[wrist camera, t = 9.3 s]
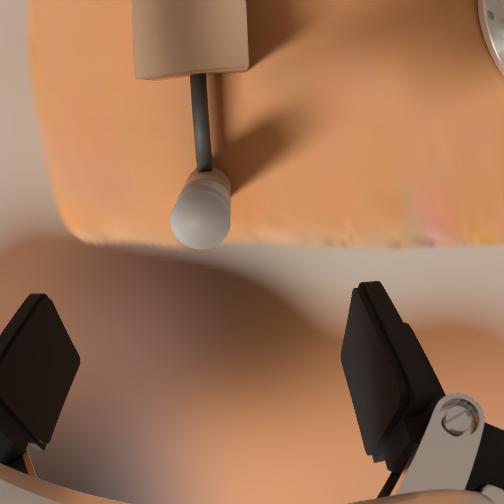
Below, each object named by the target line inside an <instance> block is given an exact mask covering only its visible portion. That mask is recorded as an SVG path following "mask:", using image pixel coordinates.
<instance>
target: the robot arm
mask: <svg viewBox="0 0 504 504" xmlns="http://www.w3.org/2000/svg"><path fill="white" fill-rule="evenodd" d="M478 14H479V20H480V25H481V29H482V33H483V36H484V39H485V42H486V44H487V47H488V49H489V52H490V54H491V56H492V58H493V60H494V62H495V64H496V66H497V67H498V69H499V70H500V72H501V73H502V75H503V76H504V0H478ZM341 362H342V366H343V370H344V373H345V376H346V380H347V384H348V387H349V391H350V395H351V398H352V402H353V406H354V409H355V413H356V417H357V421H358V424H359V428H360V432H361V436H362V440H363V444H364V448H365V451H366V453H367V455H372V457H373V460H374V463H376V462H381V461H385V462H386V465H387V469H388V470H389V473H388V475H387V477H386V478H385V480H384V482H383V484H382V485H381V487H380V489H379V491H378V492H377V494H376V496H375V497H374V499H371V500H366V501H359V502H354V503H349V504H504V430H501V429H499V428H497V427H494V426H492V425H490V424H487V423H485V422H484V420H485V417H484V413H483V410H482V408H481V407H480V405H479V403H477V402H476V401H475V400H474V399H473V398H471V397H469V396H467V395H464V394H460V393H457V394H450V395H447V396H446V395H445V393H444V391H443V389H442V387H441V384H440V382H439V380H438V379H437V376H436V374H435V372H434V370H433V368H432V367H431V364H430V362H429V360H428V358H427V357H426V355H425V353H424V351H423V349H422V347H421V345H420V343H419V341H418V339H417V338H416V336H415V334H414V333H413V330H412V329H411V327H410V326H409V324H407V323H403V321H402V319H401V317H400V315H399V314H398V312H397V310H396V308H395V306H394V305H393V303H392V301H391V299H390V298H389V296H388V294H387V292H386V291H385V289H384V287H383V285H382V284H381V282H379V281H373V282H361V283H360V284H359V286H358V288H354V289H353V291H352V297H351V303H350V309H349V315H348V319H347V325H346V330H345V335H344V340H343V345H342V350H341ZM79 365H80V357H79V354H78V353H77V351H76V349H75V347H74V345H73V343H72V341H71V339H70V337H69V335H68V333H67V331H66V329H65V327H64V325H63V323H62V321H61V319H60V317H59V315H58V313H57V310H56V308H55V306H54V304H53V302H52V300H50V299H49V298H48V296H47V295H46V294H30V295H29V296H28V297H27V298H26V300H25V301H24V302H23V304H22V305H21V307H20V308H19V309H18V310H17V312H16V313H15V315H14V316H13V317H12V319H11V320H10V322H9V323H8V325H7V326H6V327H5V329H4V330H3V332H2V334H1V335H0V504H129V503H124V502H119V501H114V500H110V499H105V498H101V497H97V496H93V495H89V494H85V493H82V492H78V491H75V490H71V489H68V488H65V487H61V486H58V485H55V484H52V483H49V482H46V481H43V480H41V479H38V478H37V476H36V473H35V471H34V468H33V465H32V462H31V459H30V456H29V453H28V450H27V445H28V444H29V445H30V446H31V447H32V448H35V449H38V450H42V451H44V449H45V447H46V444H47V443H49V442H50V440H51V436H52V434H53V431H54V428H55V426H56V423H57V420H58V418H59V415H60V412H61V410H62V407H63V405H64V402H65V399H66V397H67V394H68V392H69V390H70V387H71V385H72V382H73V380H74V377H75V375H76V373H77V370H78V368H79Z"/></svg>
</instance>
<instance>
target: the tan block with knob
mask: <svg viewBox="0 0 504 504" xmlns="http://www.w3.org/2000/svg"><path fill="white" fill-rule="evenodd" d="M132 26H133V52H134V69H135V79H142V80H153V81H159V80H165V79H173V78H180V77H189V76H190V84H191V99H192V113H193V126H194V138H195V150H196V161H197V170H195V171H194V172H193V173H192V174H191V175H190V176H189V178H188V179H187V181H186V183H185V185H184V187H183V189H182V192H181V194H180V196H179V198H178V200H177V202H176V204H175V206H174V208H173V210H172V213H171V217H170V223H171V228H172V231H173V233H174V235H175V236H176V238H177V239H178V240H179V241H180V242H182V243H183V244H184V245H186V246H188V247H191V248H195V249H208V248H211V247H214V246H216V245H218V244H219V243H220V242H222V241H223V240H224V238H225V237H226V235H227V234H228V231H229V228H230V210H231V183H230V180H229V178H228V177H227V175H226V174H225V173H224V172H223V171H221V170H220V169H218V168H215V167H212V155H211V142H210V128H209V114H208V98H207V82H206V75H209V74H221V73H237V72H246V71H247V69H248V67H249V57H248V35H247V14H246V0H132Z"/></svg>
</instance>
